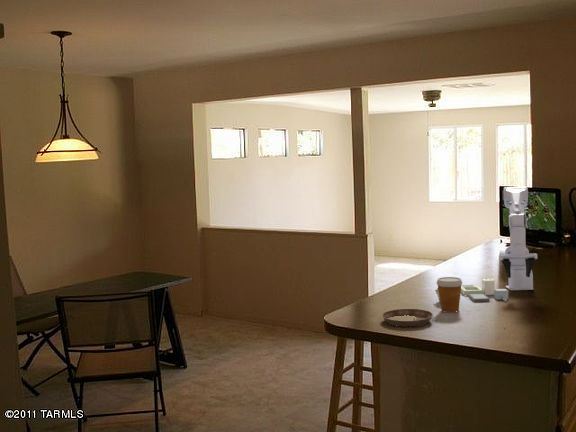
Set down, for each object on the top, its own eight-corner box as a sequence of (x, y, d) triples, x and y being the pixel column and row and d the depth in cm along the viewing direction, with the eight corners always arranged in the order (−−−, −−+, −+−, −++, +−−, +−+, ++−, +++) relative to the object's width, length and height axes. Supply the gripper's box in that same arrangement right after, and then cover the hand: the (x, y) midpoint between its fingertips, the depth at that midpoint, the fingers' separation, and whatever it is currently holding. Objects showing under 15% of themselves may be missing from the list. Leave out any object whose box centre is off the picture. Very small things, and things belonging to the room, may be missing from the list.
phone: (483, 296, 247) (483, 293, 247) (489, 301, 238) (489, 298, 238) (468, 297, 247) (468, 294, 247) (474, 302, 238) (474, 299, 238)
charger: (492, 292, 253) (491, 277, 253) (494, 294, 249) (494, 279, 249) (482, 293, 254) (482, 277, 253) (485, 295, 250) (484, 279, 249)
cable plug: (505, 297, 244) (505, 288, 244) (512, 301, 236) (511, 292, 236) (494, 297, 244) (493, 289, 244) (500, 302, 236) (500, 293, 236)
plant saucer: (372, 324, 214) (372, 315, 214) (401, 313, 226) (400, 306, 226) (414, 332, 201) (414, 323, 201) (442, 321, 214) (442, 312, 213)
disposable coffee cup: (445, 314, 221) (444, 282, 220) (432, 309, 230) (431, 278, 229) (468, 311, 224) (467, 280, 223) (454, 306, 233) (453, 275, 232)
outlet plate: (476, 289, 262) (476, 284, 261) (483, 295, 250) (483, 290, 250) (457, 289, 262) (457, 285, 262) (464, 295, 250) (464, 290, 250)
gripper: (502, 245, 237) (503, 279, 238) (540, 244, 236) (540, 278, 237) (497, 243, 244) (497, 276, 245) (533, 241, 243) (534, 274, 244)
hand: (518, 277), depth 241 cm, fingers open, 7 cm apart
